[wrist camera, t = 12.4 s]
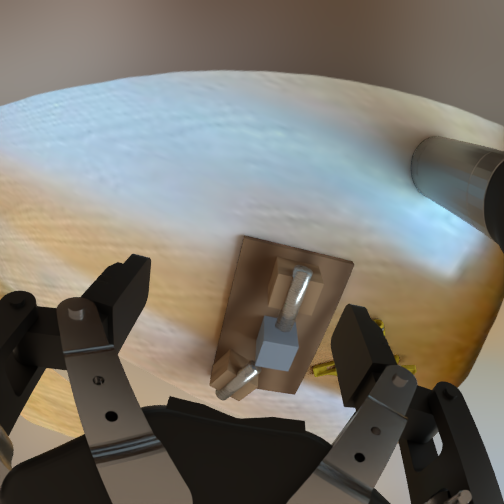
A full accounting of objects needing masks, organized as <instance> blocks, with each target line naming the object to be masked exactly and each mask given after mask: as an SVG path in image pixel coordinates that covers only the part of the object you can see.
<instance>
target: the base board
mask: <svg viewBox="0 0 504 504" xmlns="http://www.w3.org/2000/svg"><path fill="white" fill-rule="evenodd" d="M297 265H301V266H305V267H307V268H309V269H311V270H312V272H313V274H312V277H311V279H310V282H309V285H308V287H307V290H306V293H305V295H304V298H303V301H302V303H301V306H300V309H299V311H298V314H297V317H296V320H295V322H296V328H297V336H298V345H299V348H298V350H297V352H296V355H295V357H294V359H293V362H292V364H291V366H290V368H289V371H282V370H276V369H270V368H265V367H261V372H260V373H259V374H258V375H257V376H255V377H254V378H253V379H252V380H250V381H249V382H248V383H247V384H245V385H244V386H243V387H242V388H240V389H239V390H238V391H236V392H235V393H234V394H233V395H231V396H230V397H232V398H234V399H236V400H238V401H240V400H241V399H243V398H244V397H245V396H247V395H248V394H249V393H251V392H252V391H253V390H255V389H256V388H257V389H262V390H268V391H275V392H281V393H288V394H295V393H296V391H297V390H298V388H299V386H300V384H301V382H302V380H303V378H304V376H305V374H306V372H307V370H308V368H309V366H310V364H311V362H312V360H313V358H314V356H315V353H316V351H317V349H318V347H319V345H320V343H321V341H322V339H323V336H324V334H325V332H326V330H327V328H328V326H329V323H330V321H331V319H332V317H333V314H334V312H335V310H336V308H337V305H338V303H339V301H340V298H341V296H342V294H343V291H344V289H345V286H346V284H347V282H348V279H349V277H350V274H351V272H352V269H353V267H354V263H353V262H352V261H348V260H344V259H340V258H336V257H332V256H328V255H324V254H319V253H315V252H311V251H307V250H303V249H299V248H295V247H291V246H287V245H282V244H278V243H274V242H270V241H266V240H261V239H257V238H253V237H249V236H245V235H244V239H243V243H242V247H241V251H240V255H239V259H238V264H237V268H236V272H235V276H234V280H233V284H232V288H231V293H230V297H229V301H228V305H227V309H226V314H225V318H224V322H223V326H222V330H221V335H220V339H219V343H218V347H217V352H216V356H215V360H214V364H213V369H212V373H211V378H210V379H211V380H210V386H211V387H213V388H215V389H217V390H221V389H222V388H223V387H224V386H226V385H227V384H228V383H229V382H230V381H232V380H233V379H234V378H235V377H236V376H237V372H238V371H239V370H240V369H241V368H242V367H243V366H245V365H246V364H247V363H248V362H249V361H251V360H253V361H255V358H256V340H257V337H258V334H259V330H260V327H261V324H262V321H263V318H264V316H269V317H274V318H277V317H278V314H279V311H280V309H282V308H283V306H284V303H285V300H286V297H287V294H288V291H289V288H290V285H291V282H292V279H293V276H292V273H293V270H294V267H295V266H297Z"/></svg>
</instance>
